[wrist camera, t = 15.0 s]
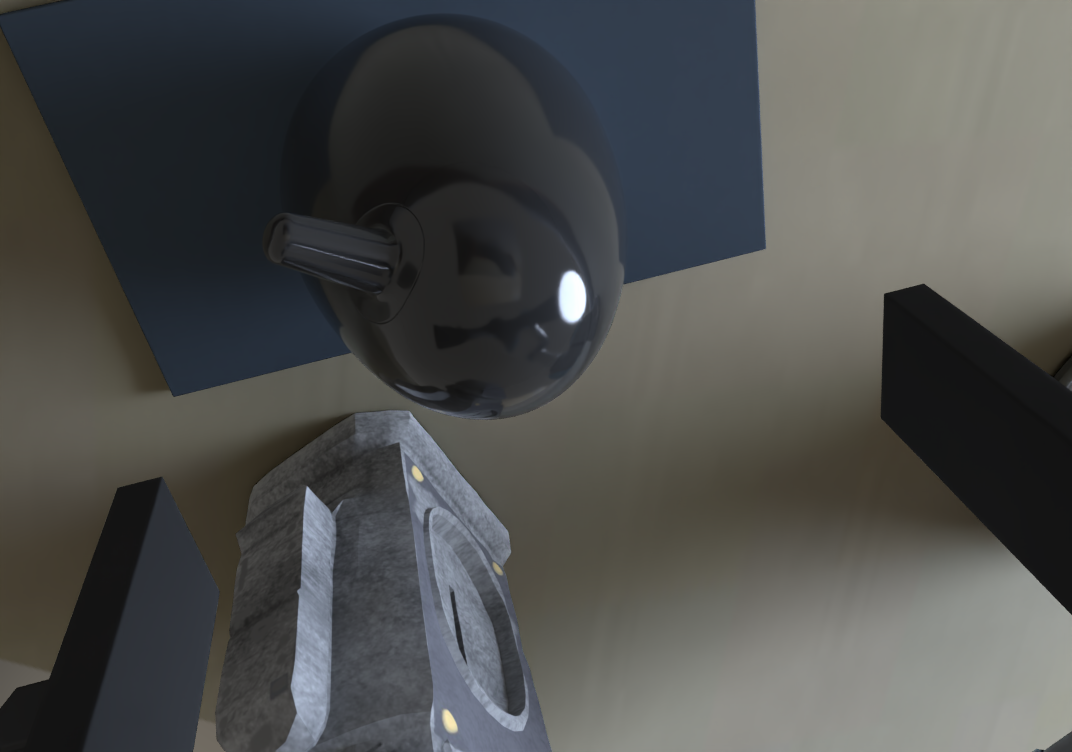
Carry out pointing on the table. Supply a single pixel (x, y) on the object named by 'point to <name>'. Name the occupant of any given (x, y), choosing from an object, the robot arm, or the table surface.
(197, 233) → the desk mat
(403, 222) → the black rounded piece
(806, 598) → the table surface
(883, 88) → the table surface
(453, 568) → the figurine
